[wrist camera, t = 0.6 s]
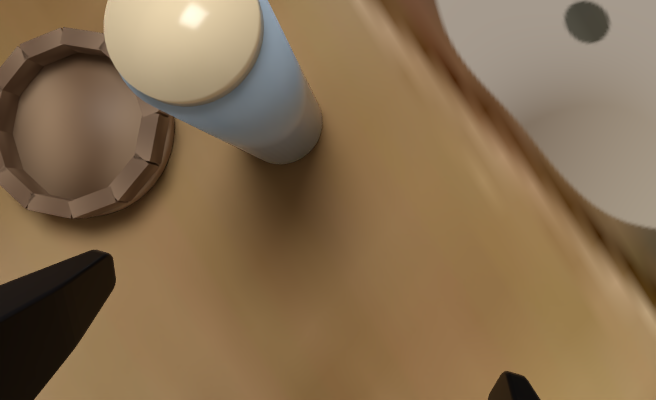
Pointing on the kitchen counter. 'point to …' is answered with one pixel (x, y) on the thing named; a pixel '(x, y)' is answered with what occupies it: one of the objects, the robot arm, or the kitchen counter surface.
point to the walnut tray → (76, 129)
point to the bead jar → (217, 71)
